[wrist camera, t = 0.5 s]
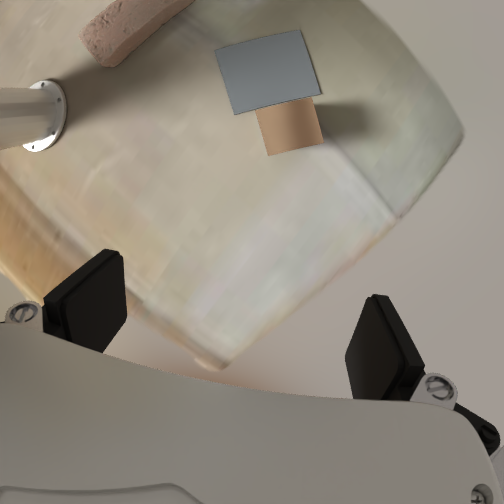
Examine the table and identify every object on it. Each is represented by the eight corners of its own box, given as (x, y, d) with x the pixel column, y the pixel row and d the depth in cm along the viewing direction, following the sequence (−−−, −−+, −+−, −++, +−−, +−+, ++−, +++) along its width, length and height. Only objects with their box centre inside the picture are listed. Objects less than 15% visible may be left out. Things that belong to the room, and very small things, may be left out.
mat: (234, 114, 37) (234, 114, 37) (214, 51, 34) (214, 50, 34) (320, 94, 36) (320, 94, 35) (299, 30, 32) (299, 29, 32)
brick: (169, -27, 28) (159, -40, 24) (200, 0, 31) (192, -13, 26) (90, 41, 33) (74, 36, 29) (114, 71, 35) (99, 67, 31)
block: (268, 150, 39) (268, 156, 30) (258, 115, 37) (255, 110, 28) (310, 139, 38) (323, 142, 29) (301, 105, 36) (311, 97, 27)
